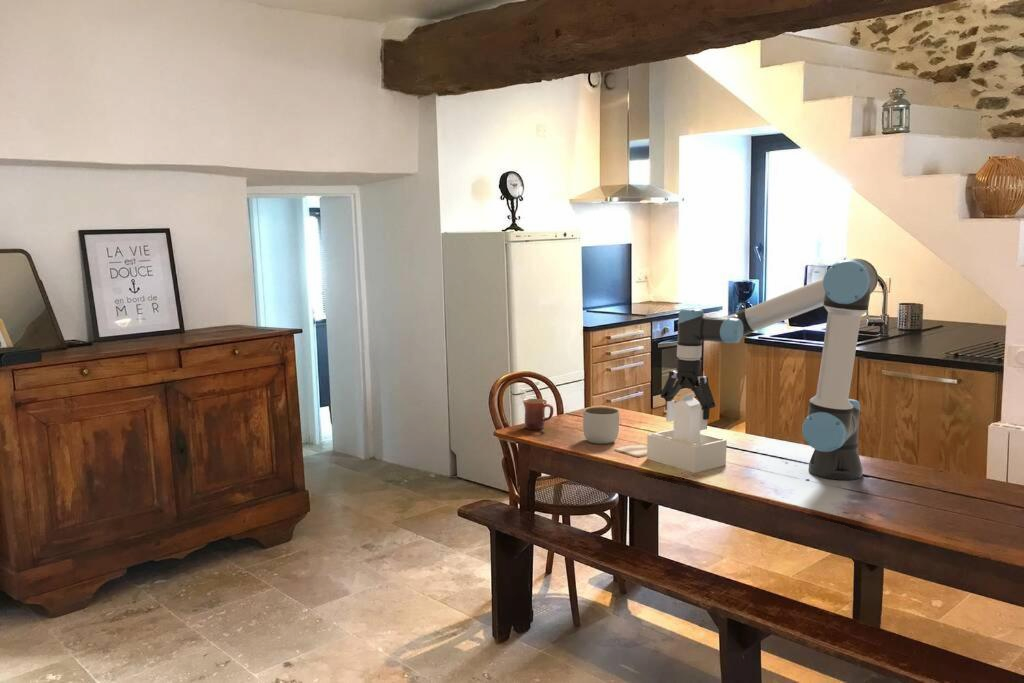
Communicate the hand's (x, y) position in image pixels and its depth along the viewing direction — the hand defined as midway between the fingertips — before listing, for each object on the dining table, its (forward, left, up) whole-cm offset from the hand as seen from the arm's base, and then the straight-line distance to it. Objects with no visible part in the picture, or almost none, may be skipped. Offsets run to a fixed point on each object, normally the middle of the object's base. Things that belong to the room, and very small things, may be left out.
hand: (686, 425), depth 260 cm
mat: (+18, +3, -12) cm, 21 cm away
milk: (0, 0, -12) cm, 12 cm away
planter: (+35, +4, -12) cm, 37 cm away
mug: (+62, +10, -12) cm, 64 cm away
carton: (0, 0, -12) cm, 12 cm away
